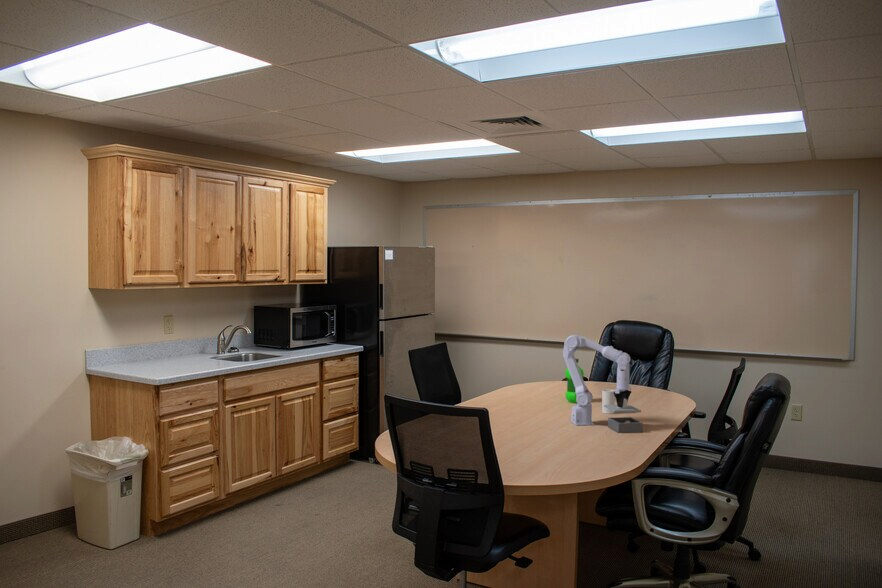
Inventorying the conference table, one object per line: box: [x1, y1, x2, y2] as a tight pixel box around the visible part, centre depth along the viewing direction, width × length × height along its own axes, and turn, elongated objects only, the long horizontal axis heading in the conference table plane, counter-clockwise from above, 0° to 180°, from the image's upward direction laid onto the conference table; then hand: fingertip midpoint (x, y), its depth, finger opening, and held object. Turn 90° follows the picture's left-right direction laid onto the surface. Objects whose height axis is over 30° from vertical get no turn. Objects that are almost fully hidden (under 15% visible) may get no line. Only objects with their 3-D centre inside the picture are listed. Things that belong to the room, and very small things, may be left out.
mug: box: [601, 388, 616, 415], centre depth 347 cm, size 10×7×12 cm, turn 78°
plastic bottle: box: [564, 358, 585, 404], centre depth 374 cm, size 10×10×25 cm
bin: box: [607, 416, 644, 434], centre depth 310 cm, size 12×12×4 cm
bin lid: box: [604, 399, 642, 413], centre depth 314 cm, size 13×13×5 cm
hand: (622, 406), depth 314 cm, fingers closed on bin lid, 5 cm apart
